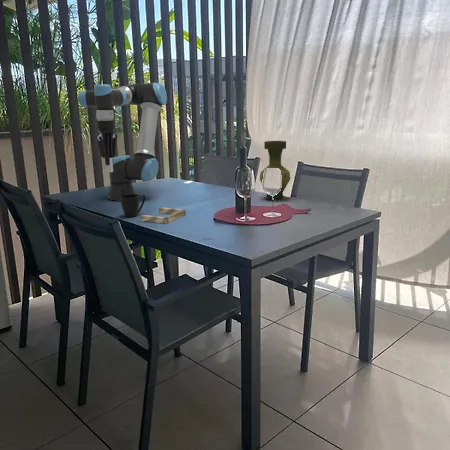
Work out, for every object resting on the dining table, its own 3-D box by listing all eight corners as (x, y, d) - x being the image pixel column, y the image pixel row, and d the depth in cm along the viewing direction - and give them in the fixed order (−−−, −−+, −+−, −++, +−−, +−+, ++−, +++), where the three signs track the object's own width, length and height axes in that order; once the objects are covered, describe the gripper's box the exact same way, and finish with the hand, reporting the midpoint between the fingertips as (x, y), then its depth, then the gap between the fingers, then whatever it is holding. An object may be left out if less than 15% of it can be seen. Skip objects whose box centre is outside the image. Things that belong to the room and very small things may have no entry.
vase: (294, 196, 241) (295, 140, 233) (285, 203, 227) (286, 143, 219) (265, 194, 248) (265, 140, 240) (254, 200, 234) (254, 142, 226)
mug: (150, 214, 210) (149, 194, 207) (127, 219, 203) (125, 198, 200) (141, 211, 216) (140, 192, 214) (119, 215, 209) (117, 195, 206)
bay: (140, 221, 198) (140, 215, 198) (160, 212, 213) (160, 207, 213) (166, 223, 193) (166, 218, 192) (185, 214, 208) (185, 209, 207)
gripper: (102, 120, 195) (107, 174, 201) (121, 119, 207) (124, 170, 213) (89, 120, 198) (94, 173, 204) (107, 119, 210) (112, 169, 216)
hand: (109, 171), depth 209 cm, fingers closed
